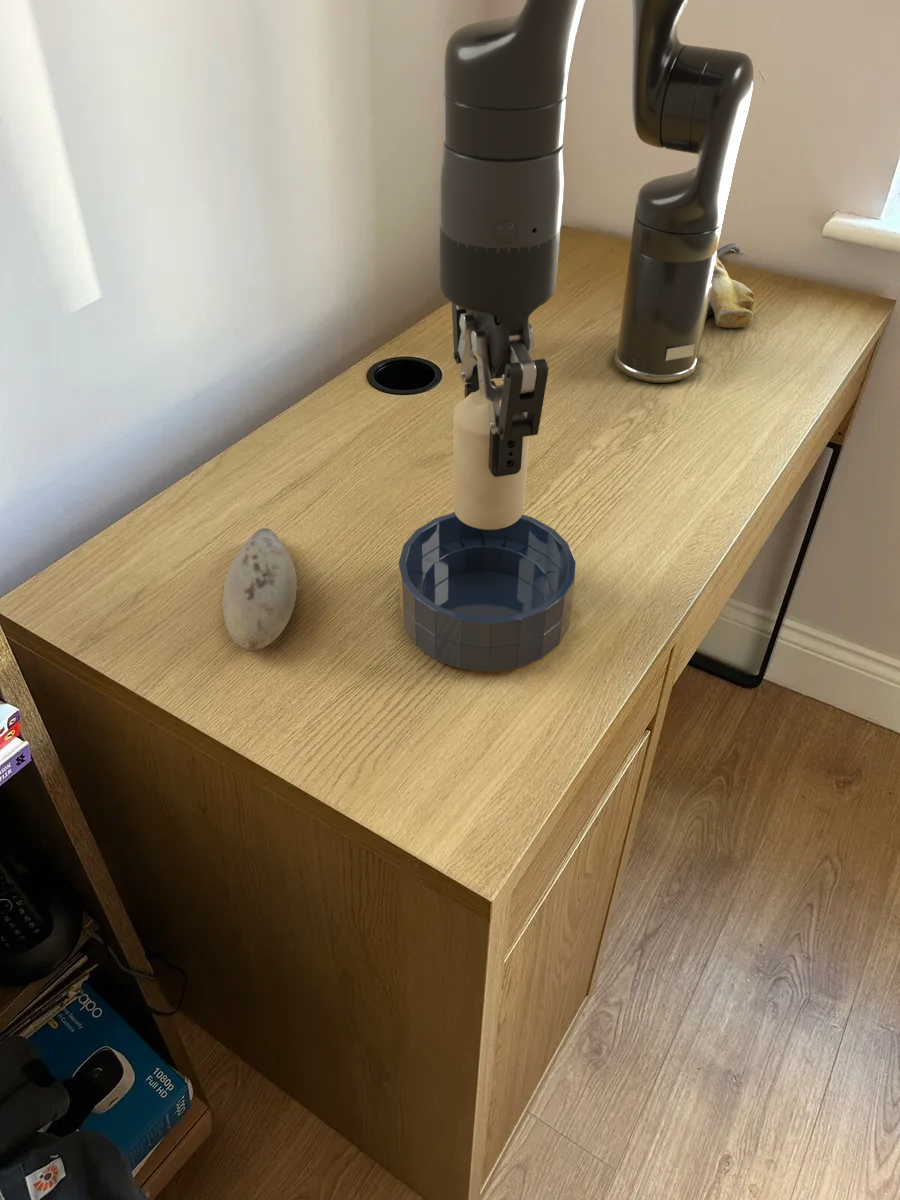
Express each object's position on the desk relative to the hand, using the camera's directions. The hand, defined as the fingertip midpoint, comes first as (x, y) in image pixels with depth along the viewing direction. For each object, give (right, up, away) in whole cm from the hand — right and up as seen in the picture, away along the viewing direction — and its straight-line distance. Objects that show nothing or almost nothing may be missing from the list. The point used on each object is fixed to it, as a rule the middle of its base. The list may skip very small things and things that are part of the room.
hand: (491, 448), depth 71 cm
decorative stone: (-19, -11, +13) cm, 26 cm away
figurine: (+33, +28, +56) cm, 70 cm away
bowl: (0, -12, +11) cm, 17 cm away
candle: (0, -4, +4) cm, 6 cm away
